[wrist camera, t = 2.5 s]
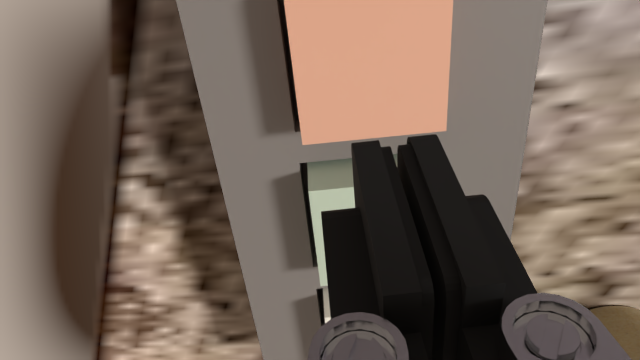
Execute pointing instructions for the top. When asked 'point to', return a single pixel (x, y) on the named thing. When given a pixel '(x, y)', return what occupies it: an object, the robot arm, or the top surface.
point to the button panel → (291, 156)
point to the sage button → (329, 198)
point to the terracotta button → (369, 67)
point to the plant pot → (622, 326)
